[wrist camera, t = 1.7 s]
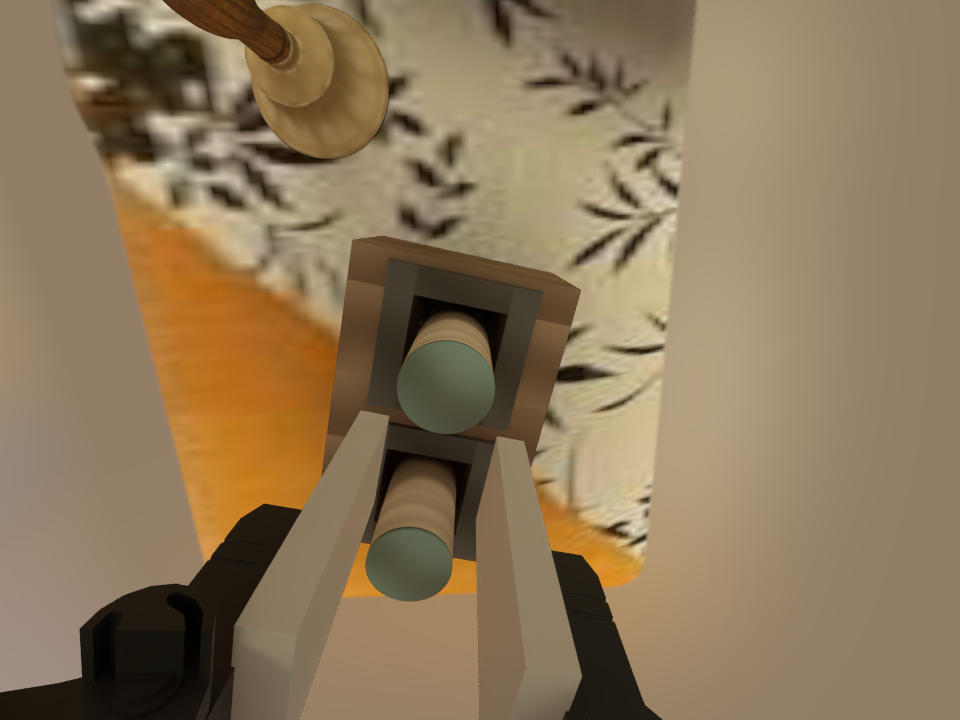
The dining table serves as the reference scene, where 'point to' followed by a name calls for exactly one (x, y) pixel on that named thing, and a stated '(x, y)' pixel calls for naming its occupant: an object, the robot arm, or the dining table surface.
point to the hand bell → (304, 71)
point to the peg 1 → (448, 372)
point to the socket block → (390, 335)
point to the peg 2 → (415, 529)
